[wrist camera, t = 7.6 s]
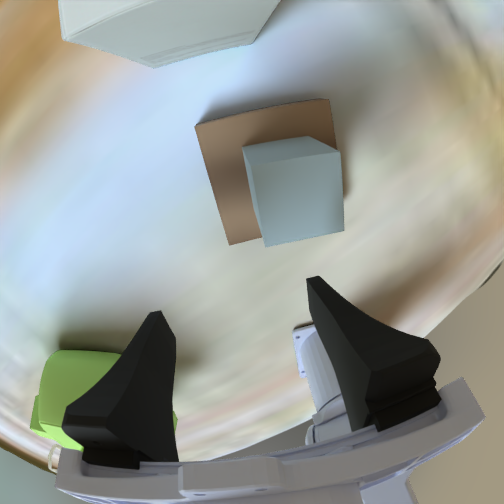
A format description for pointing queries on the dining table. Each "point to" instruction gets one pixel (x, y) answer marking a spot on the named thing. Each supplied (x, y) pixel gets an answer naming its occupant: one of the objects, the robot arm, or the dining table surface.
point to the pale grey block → (295, 189)
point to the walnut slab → (249, 133)
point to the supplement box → (163, 26)
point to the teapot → (67, 390)
